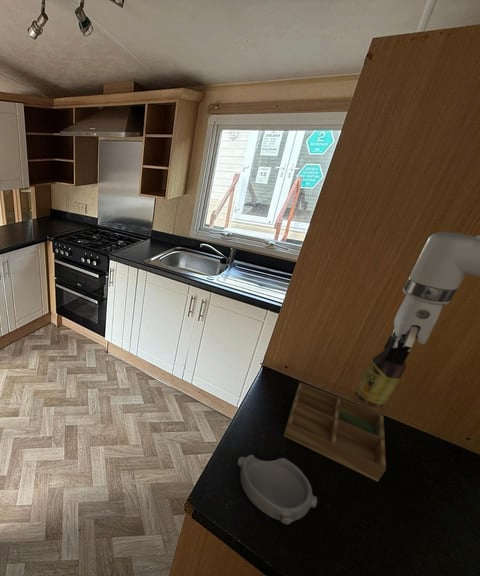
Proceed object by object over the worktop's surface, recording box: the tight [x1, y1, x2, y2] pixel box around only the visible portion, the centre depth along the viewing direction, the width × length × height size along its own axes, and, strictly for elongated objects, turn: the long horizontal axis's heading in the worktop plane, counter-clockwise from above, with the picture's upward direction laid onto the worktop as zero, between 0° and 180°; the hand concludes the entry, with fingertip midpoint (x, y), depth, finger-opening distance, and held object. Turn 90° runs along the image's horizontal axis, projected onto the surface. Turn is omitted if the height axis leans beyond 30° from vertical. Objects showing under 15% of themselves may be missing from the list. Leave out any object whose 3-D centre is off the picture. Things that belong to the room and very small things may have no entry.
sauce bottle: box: [355, 334, 415, 408], centre depth 78 cm, size 6×6×20 cm
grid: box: [283, 381, 387, 482], centre depth 85 cm, size 20×20×5 cm
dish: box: [237, 454, 318, 526], centre depth 70 cm, size 14×14×5 cm
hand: (392, 356), depth 76 cm, fingers closed on sauce bottle, 4 cm apart
